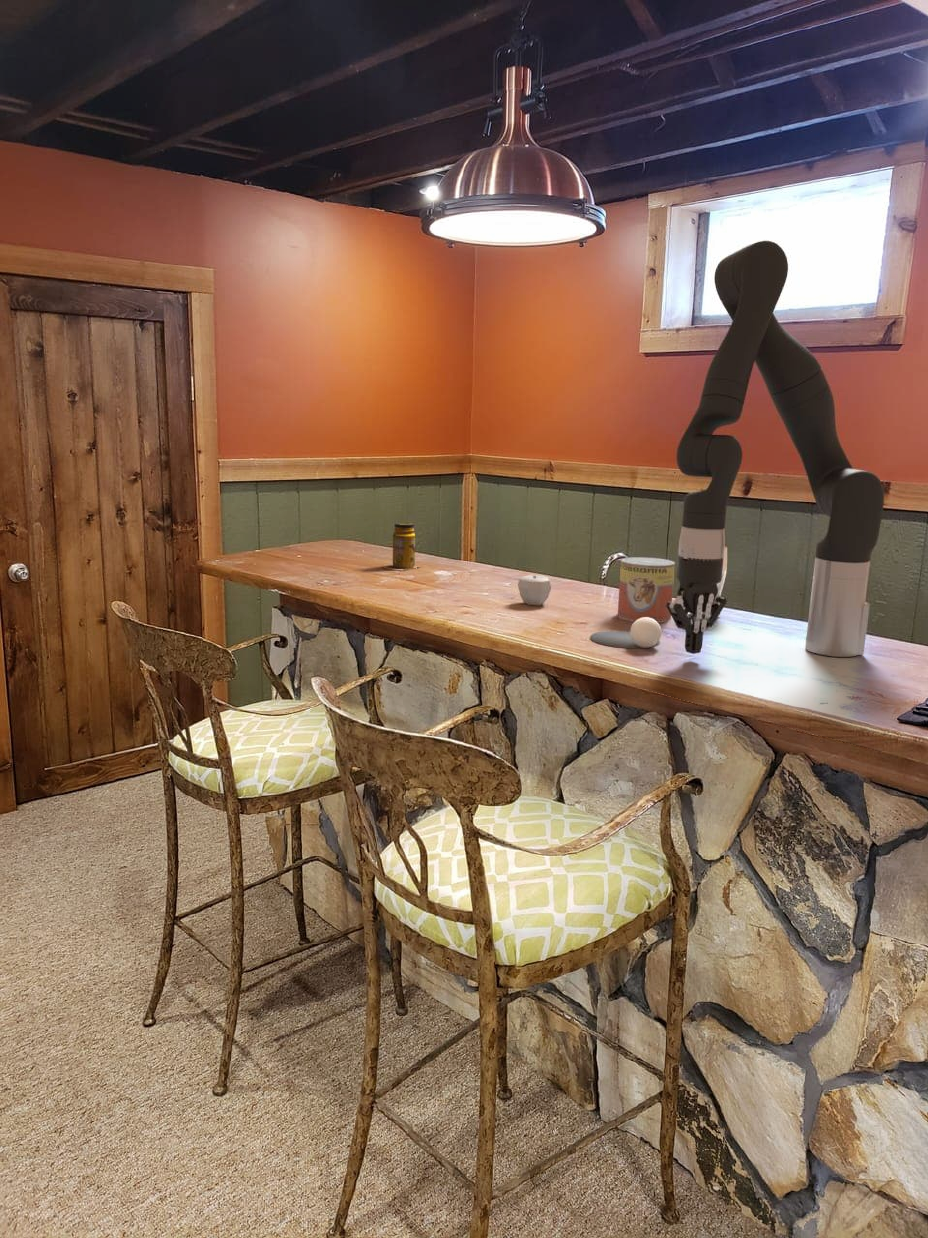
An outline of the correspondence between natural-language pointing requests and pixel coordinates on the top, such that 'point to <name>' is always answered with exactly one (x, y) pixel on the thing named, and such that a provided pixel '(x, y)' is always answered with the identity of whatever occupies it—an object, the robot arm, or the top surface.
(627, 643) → the disc
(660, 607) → the canned food
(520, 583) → the apple
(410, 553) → the condiment
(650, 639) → the ball
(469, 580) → the top surface
